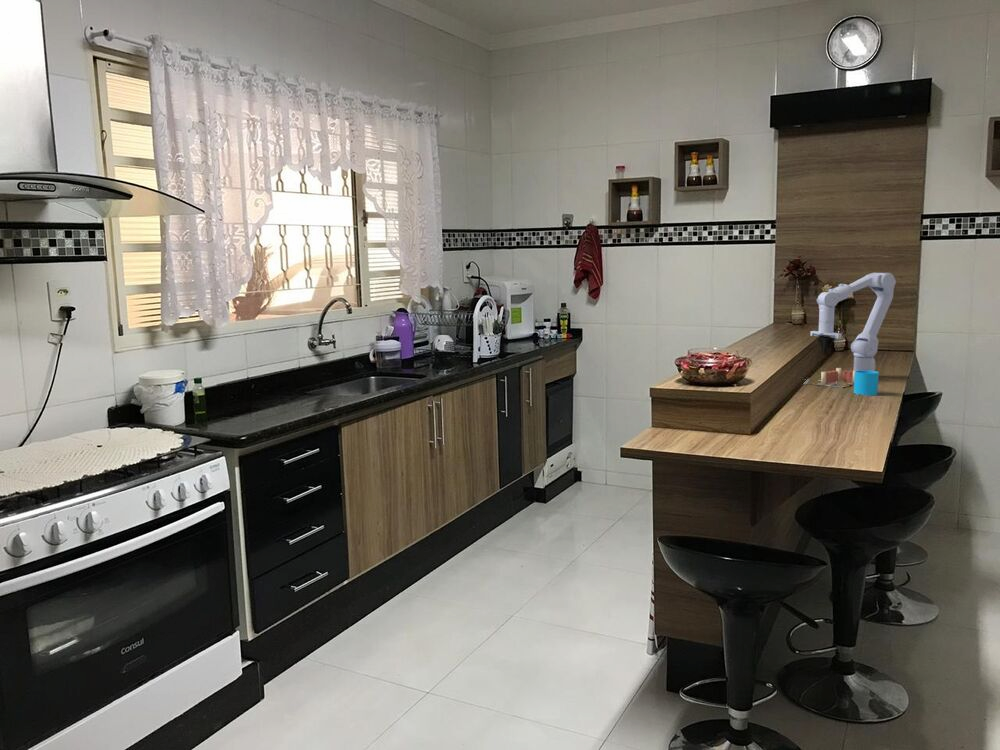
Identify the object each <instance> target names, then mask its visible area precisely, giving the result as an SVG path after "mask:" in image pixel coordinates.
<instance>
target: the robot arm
mask: <svg viewBox="0 0 1000 750" xmlns="http://www.w3.org/2000/svg"><path fill="white" fill-rule="evenodd" d="M896 283H897V280H896V278H895V276H894V274H892V273H891V272H871V273H868V274H866V275H865V276H863V277H861V278H858V279H857V280H855V281H854V282H851V283H850V284H846V283H839V284H838V285H837V286H836V287H834V288H830V289H828V291H822V292H821V293H820V294H819V295H818V296H817V298H816V303H817V304H818V309H819V312H818V313H819V315H818V330H811V331H809V332H810V337H816V342H817V343H818V345H819V348H820V351H821V355H822V356H827V355H829V352H830V350H831V347H832V345H833V343H834V341H835V339H837V340H839V339H842V336H843V334H842V333H840V332H839V333H838V332H835V331H834V327H835V309H836V308H835V307H836V306H837V305H838V303H839V302H842V301H843V300H846V299H848V298H851V296H852V294H853V293H854V292H856V291H859V290H862V289H864V288H866V287H869V288H870V289H871V290H872V291H873V292H874V293H875V295H876V296H877V298H876V300H875V302H874V305H873V307H872V309H871V311H870V314H869V316H868V319H867V321H866V323H865V325H864V328H863V330H862V332H861V333H859V334H857V336H856V338H855V339H854V341H852V343H851V344H850V351H851V352H852V354H853V356H854V357H853V370H852V371H859V370H867V371H876V359H875V355H876V354H877V352H878V347H879V346H878V345H879V343H880V342H879V341H880V340H879V339H878V337H877V336H878V333H879V332H880V331H879V330H880V328H881V326H882V324H883V321H884V320H885V317H886V315H887V312H888V310H889V309H890V308H889V307H890V305H891V303H892V301H893V297H894V289H895V286H896Z"/></svg>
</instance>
